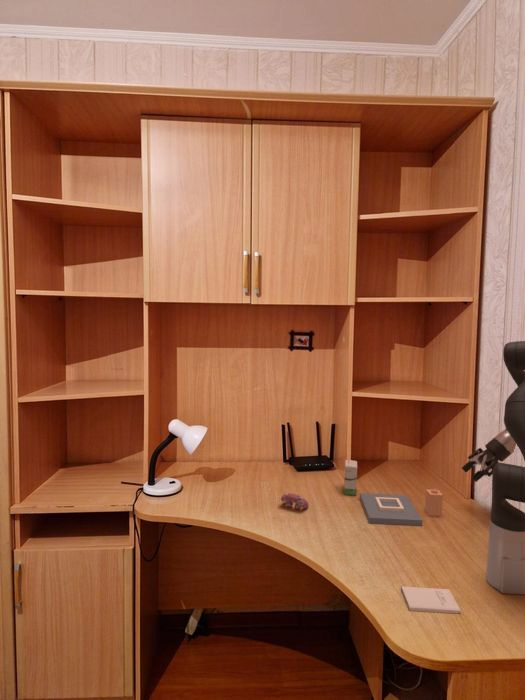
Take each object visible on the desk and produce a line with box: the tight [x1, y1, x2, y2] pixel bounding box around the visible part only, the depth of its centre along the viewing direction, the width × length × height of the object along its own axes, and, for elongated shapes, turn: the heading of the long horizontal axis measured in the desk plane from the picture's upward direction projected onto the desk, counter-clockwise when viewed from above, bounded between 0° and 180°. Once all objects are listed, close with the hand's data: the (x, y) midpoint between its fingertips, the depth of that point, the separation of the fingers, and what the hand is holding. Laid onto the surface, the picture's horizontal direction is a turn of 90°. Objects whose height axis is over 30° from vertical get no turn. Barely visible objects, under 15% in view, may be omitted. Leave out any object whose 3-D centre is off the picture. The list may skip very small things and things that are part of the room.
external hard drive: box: [400, 586, 462, 615], centre depth 109 cm, size 2×8×12 cm
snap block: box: [424, 488, 444, 517], centre depth 157 cm, size 4×4×9 cm
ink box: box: [343, 459, 358, 497], centre depth 174 cm, size 9×5×12 cm, turn 168°
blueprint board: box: [359, 492, 423, 527], centre depth 158 cm, size 20×18×3 cm
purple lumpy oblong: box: [280, 492, 310, 510], centre depth 159 cm, size 10×5×7 cm, turn 62°
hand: (468, 474), depth 155 cm, fingers open, 8 cm apart
